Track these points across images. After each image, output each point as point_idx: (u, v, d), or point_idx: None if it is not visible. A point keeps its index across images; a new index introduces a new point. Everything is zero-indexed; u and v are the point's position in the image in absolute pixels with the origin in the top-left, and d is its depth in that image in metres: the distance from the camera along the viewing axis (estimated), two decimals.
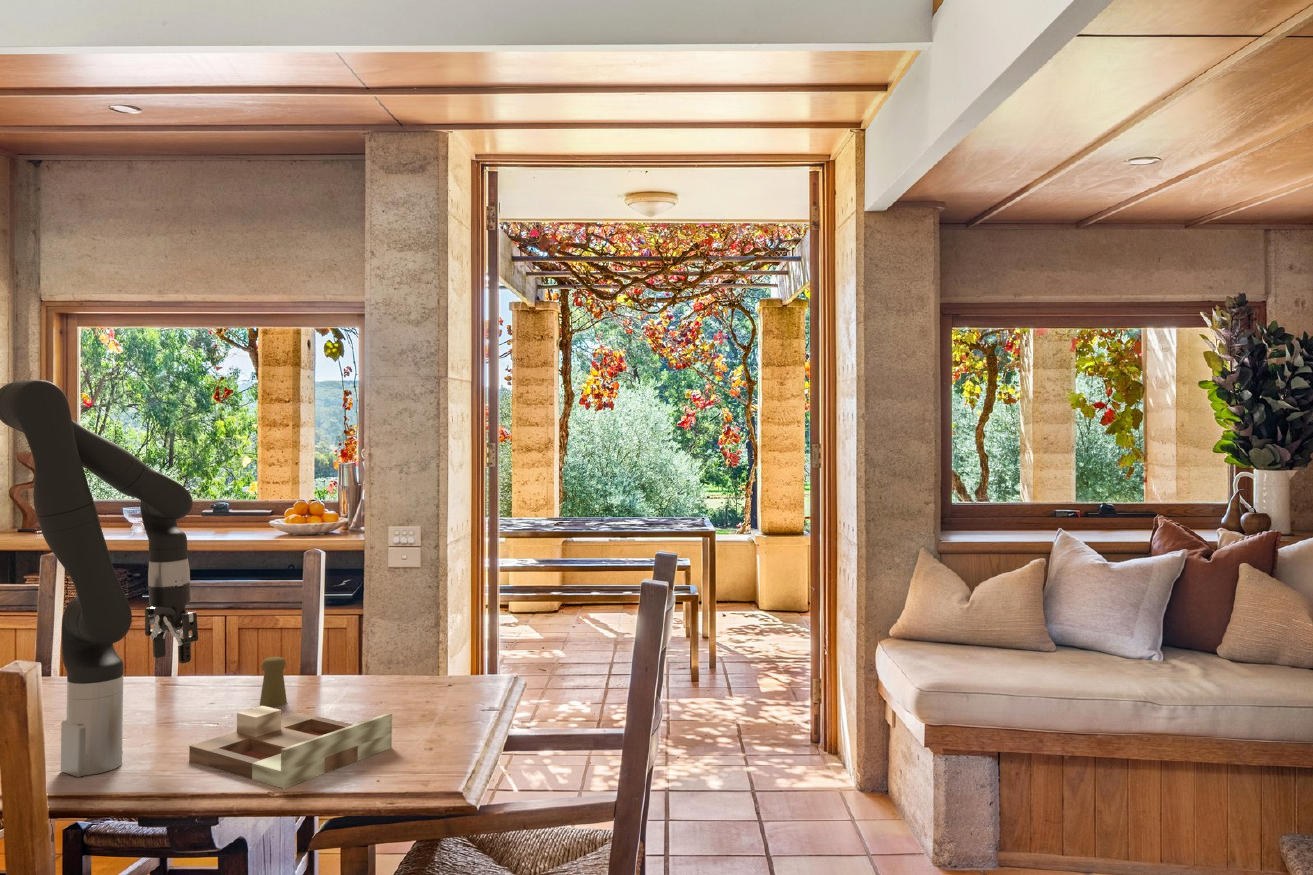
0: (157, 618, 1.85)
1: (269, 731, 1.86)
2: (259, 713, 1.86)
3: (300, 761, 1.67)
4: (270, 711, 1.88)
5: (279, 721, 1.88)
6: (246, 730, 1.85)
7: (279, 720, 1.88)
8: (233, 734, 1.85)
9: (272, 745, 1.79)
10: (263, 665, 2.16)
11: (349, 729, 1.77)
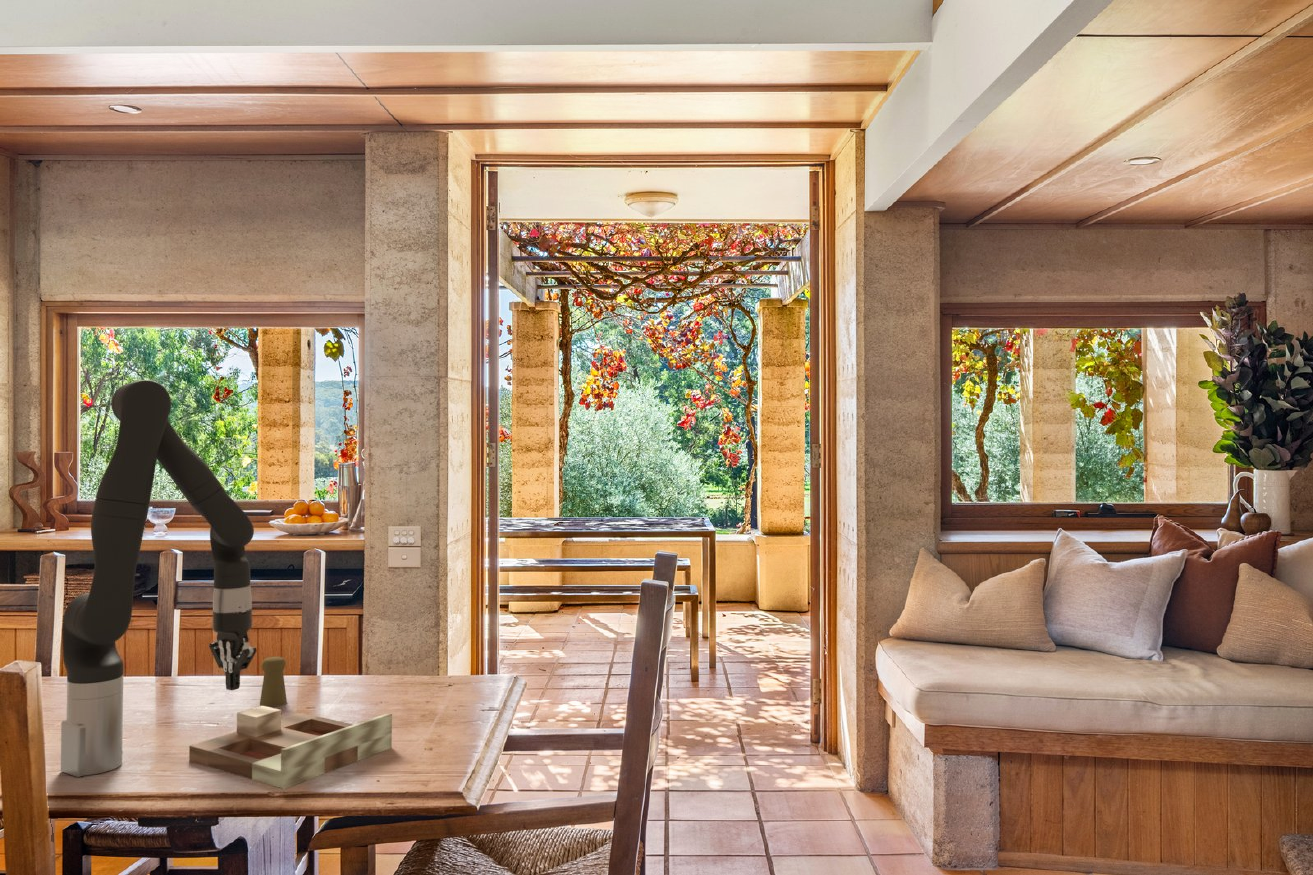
0: (220, 643, 1.91)
1: (269, 731, 1.86)
2: (259, 713, 1.86)
3: (300, 761, 1.67)
4: (270, 711, 1.88)
5: (279, 721, 1.88)
6: (246, 730, 1.85)
7: (279, 720, 1.88)
8: (233, 734, 1.85)
9: (272, 745, 1.79)
10: (263, 665, 2.16)
11: (349, 729, 1.77)
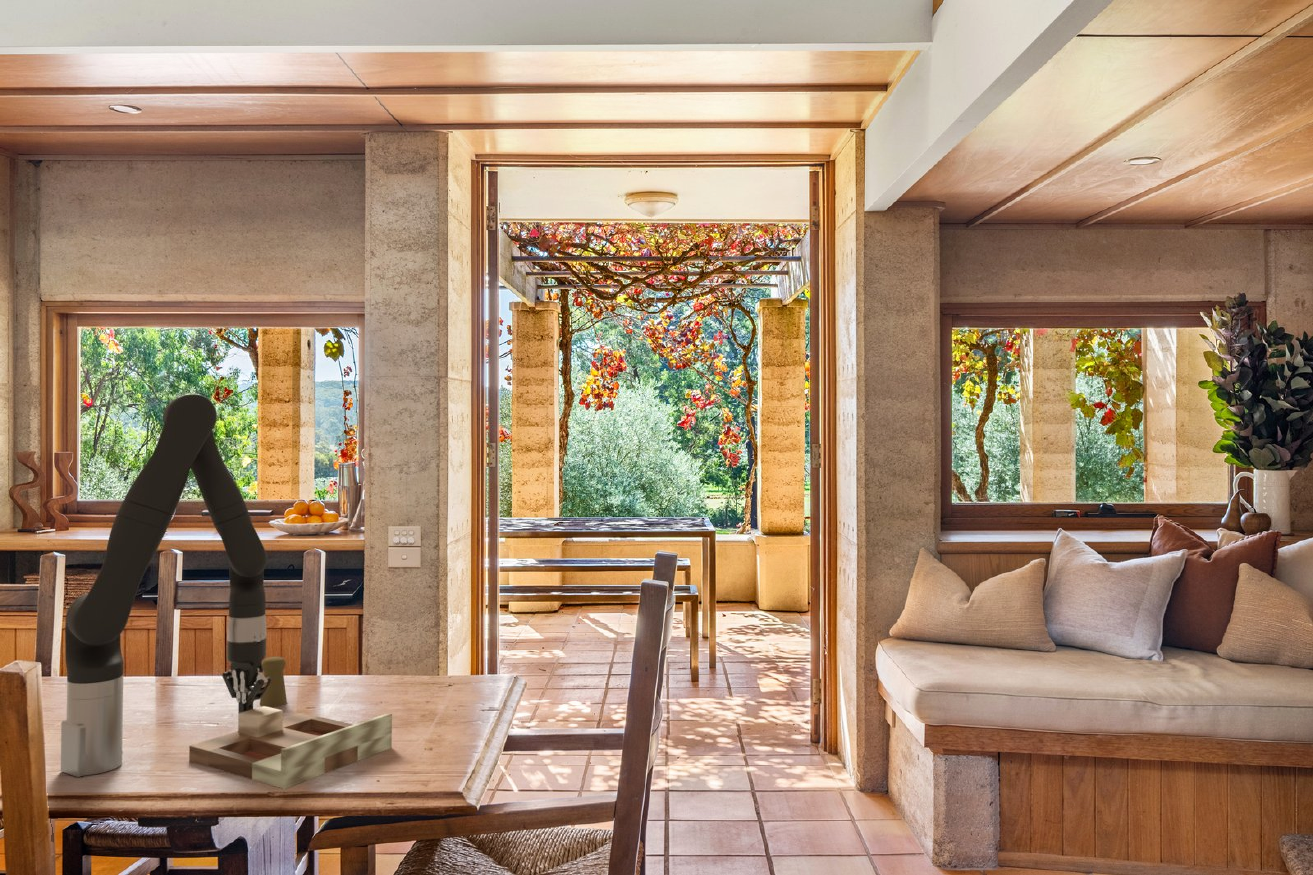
0: (234, 673, 1.89)
1: (271, 731, 1.86)
2: (260, 713, 1.86)
3: (300, 761, 1.67)
4: (271, 711, 1.87)
5: (281, 721, 1.88)
6: (247, 731, 1.85)
7: (281, 720, 1.88)
8: (233, 734, 1.85)
9: (272, 745, 1.79)
10: (263, 665, 2.16)
11: (349, 729, 1.77)
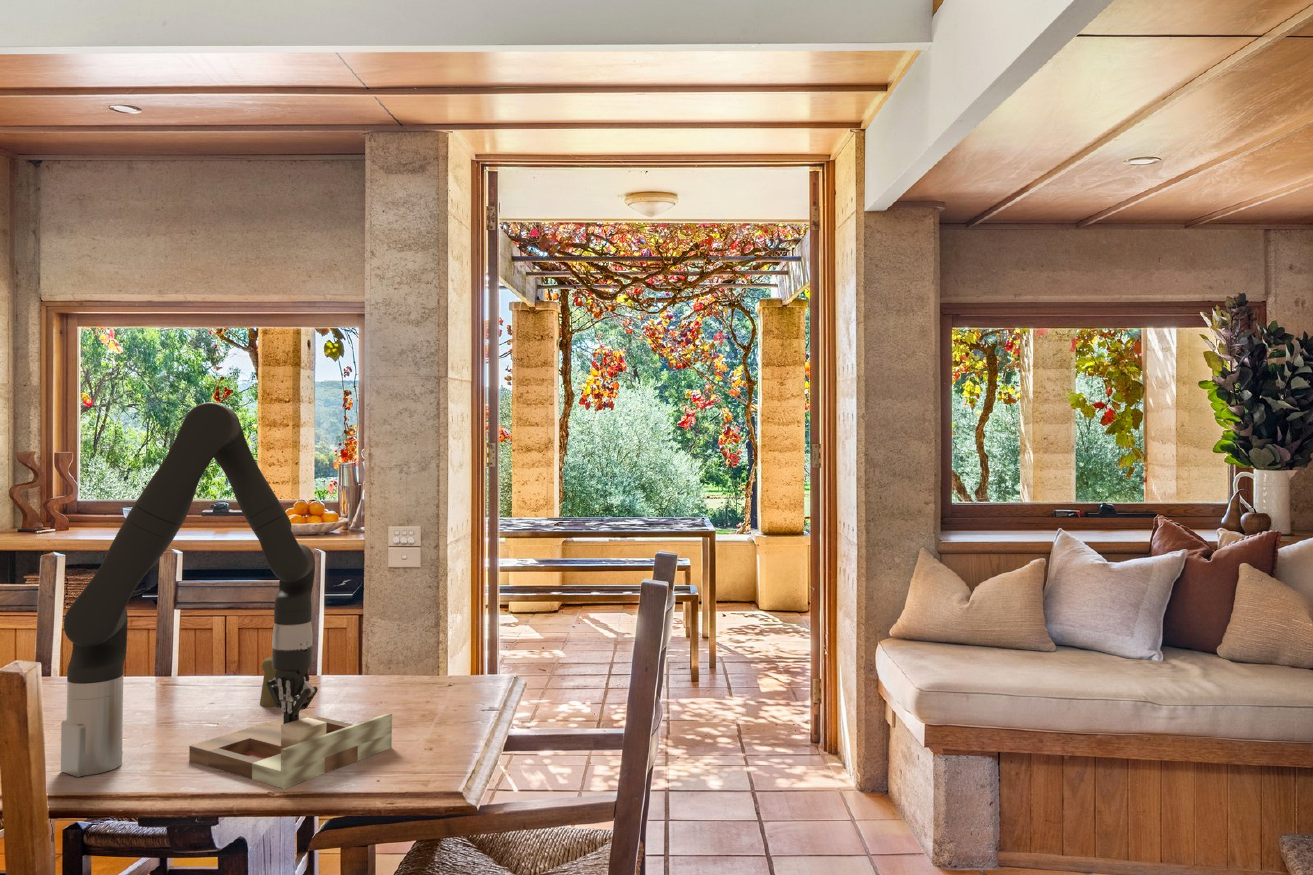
0: (279, 682, 1.82)
1: None
2: (304, 725, 1.78)
3: (300, 761, 1.67)
4: (315, 723, 1.80)
5: (324, 734, 1.80)
6: (290, 743, 1.77)
7: (324, 733, 1.80)
8: (233, 734, 1.85)
9: (272, 745, 1.79)
10: (263, 665, 2.16)
11: (349, 729, 1.77)
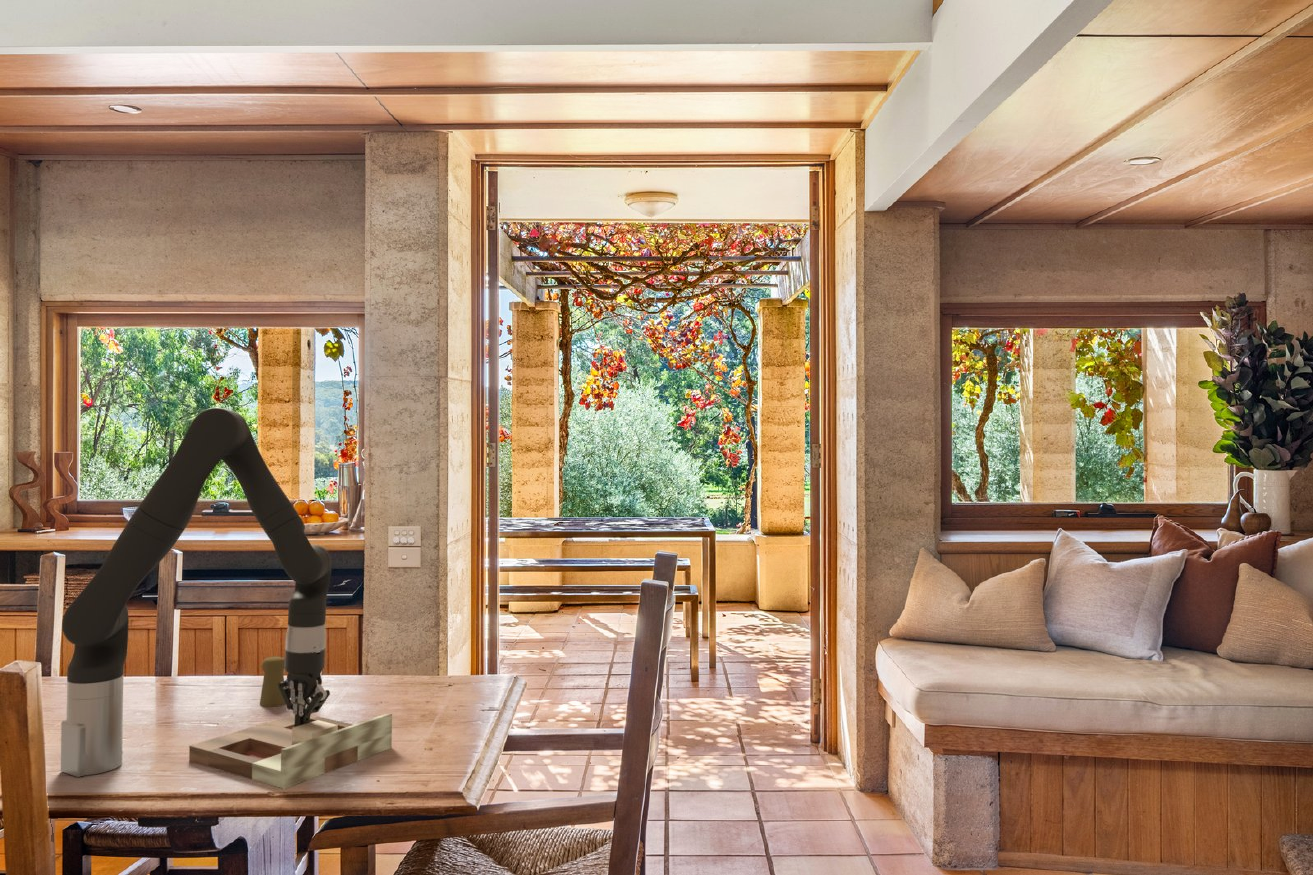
0: (291, 684, 1.80)
1: None
2: (315, 728, 1.77)
3: (300, 761, 1.67)
4: (326, 726, 1.78)
5: None
6: None
7: None
8: (233, 734, 1.85)
9: (272, 745, 1.79)
10: (263, 665, 2.16)
11: (349, 729, 1.77)
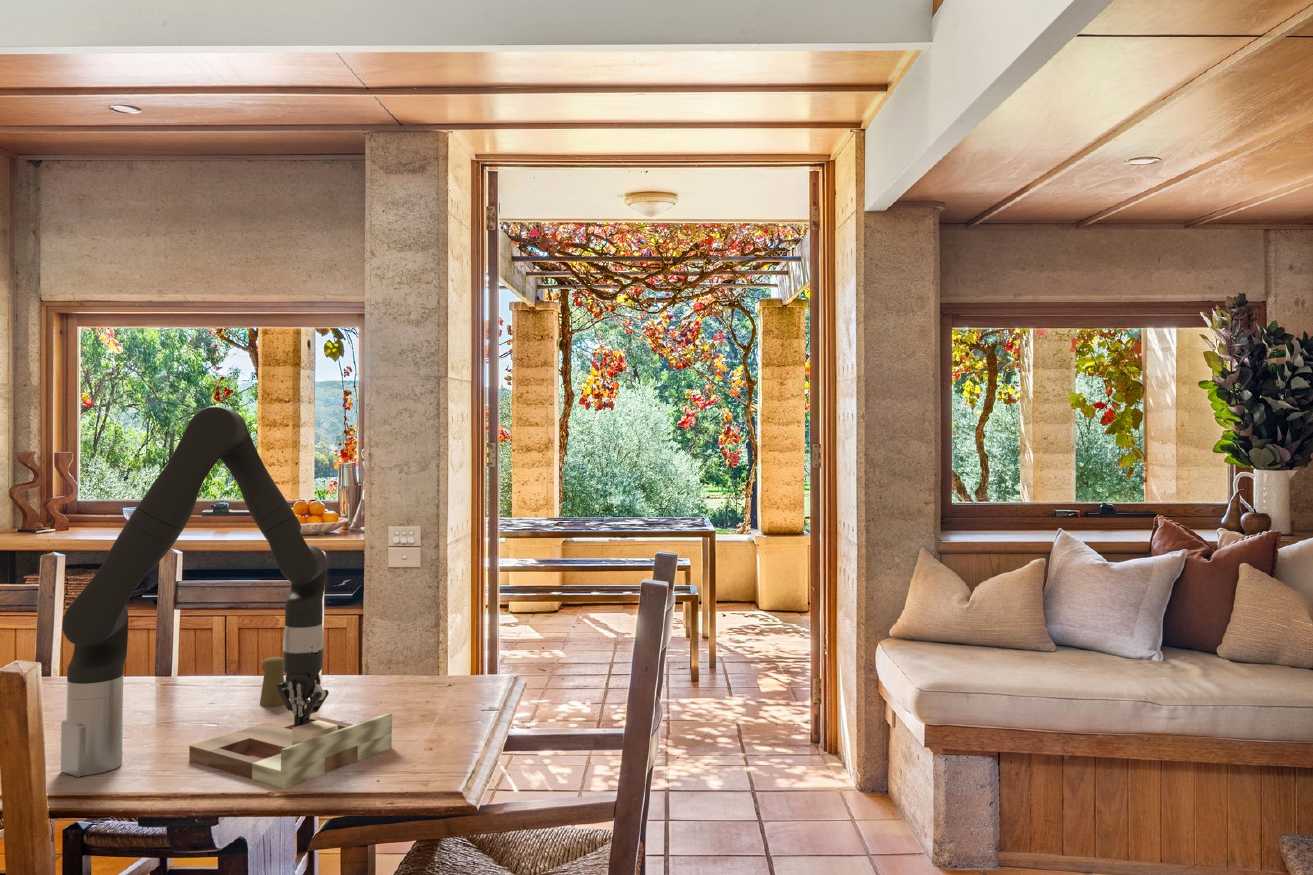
0: (290, 685, 1.80)
1: None
2: (315, 728, 1.76)
3: (300, 761, 1.67)
4: (327, 726, 1.78)
5: None
6: None
7: None
8: (233, 734, 1.85)
9: (272, 745, 1.79)
10: (263, 665, 2.16)
11: (349, 729, 1.77)
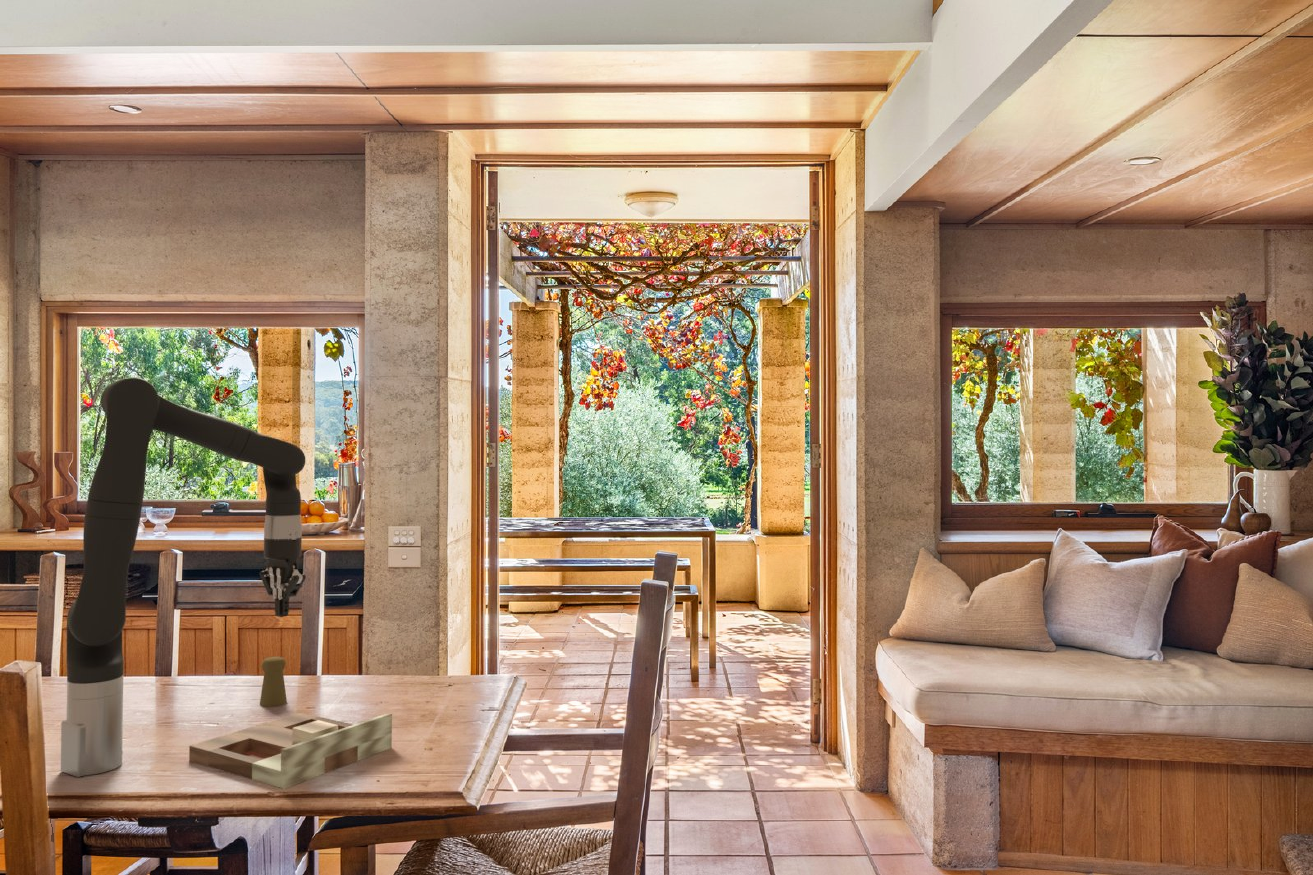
0: (270, 570, 1.95)
1: None
2: (315, 728, 1.77)
3: (300, 761, 1.67)
4: (327, 726, 1.78)
5: None
6: None
7: None
8: (233, 734, 1.85)
9: (272, 745, 1.79)
10: (263, 665, 2.16)
11: (349, 729, 1.77)
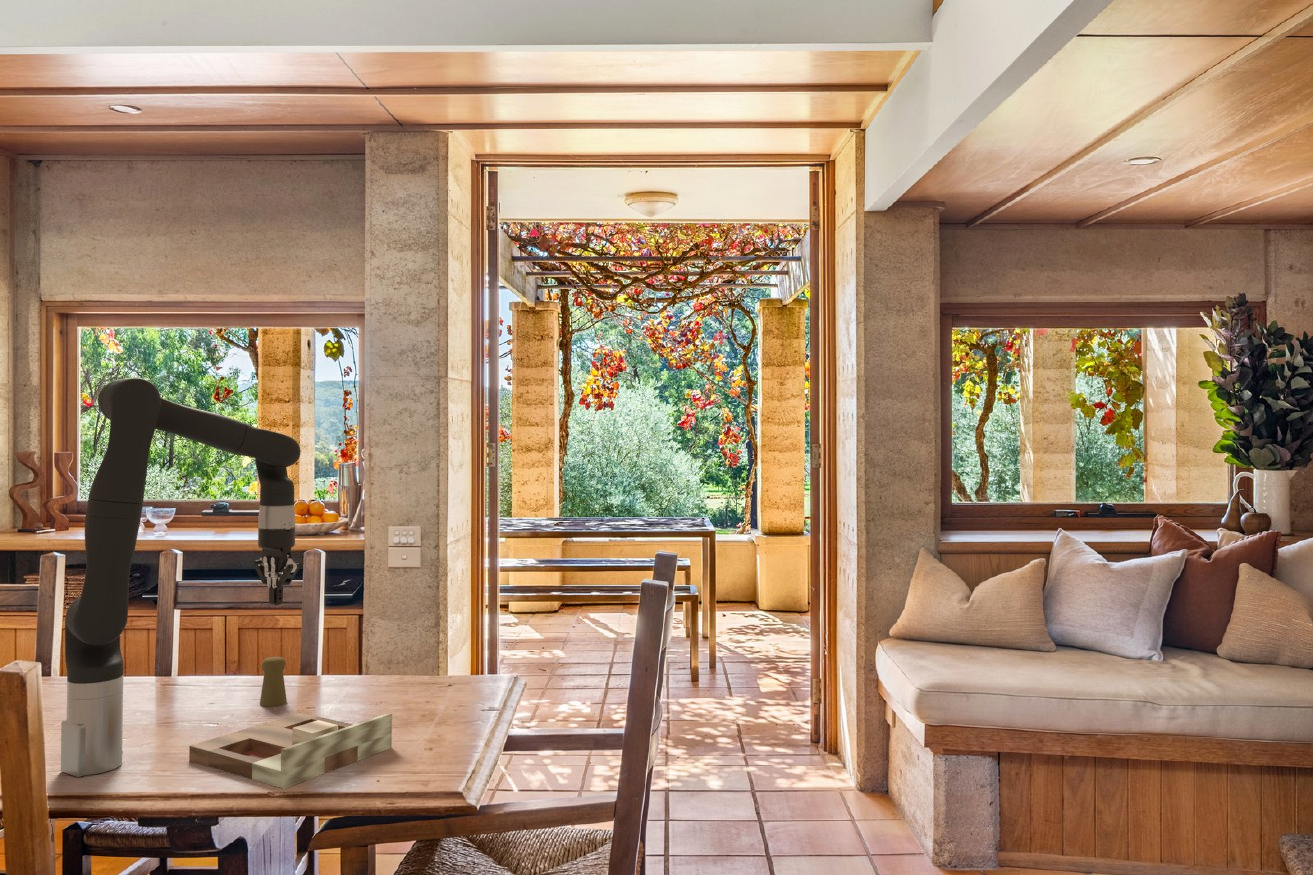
0: (265, 559, 1.99)
1: None
2: (315, 728, 1.77)
3: (300, 761, 1.67)
4: (327, 726, 1.78)
5: None
6: None
7: None
8: (233, 734, 1.85)
9: (272, 745, 1.79)
10: (263, 665, 2.16)
11: (349, 729, 1.77)
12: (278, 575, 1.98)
